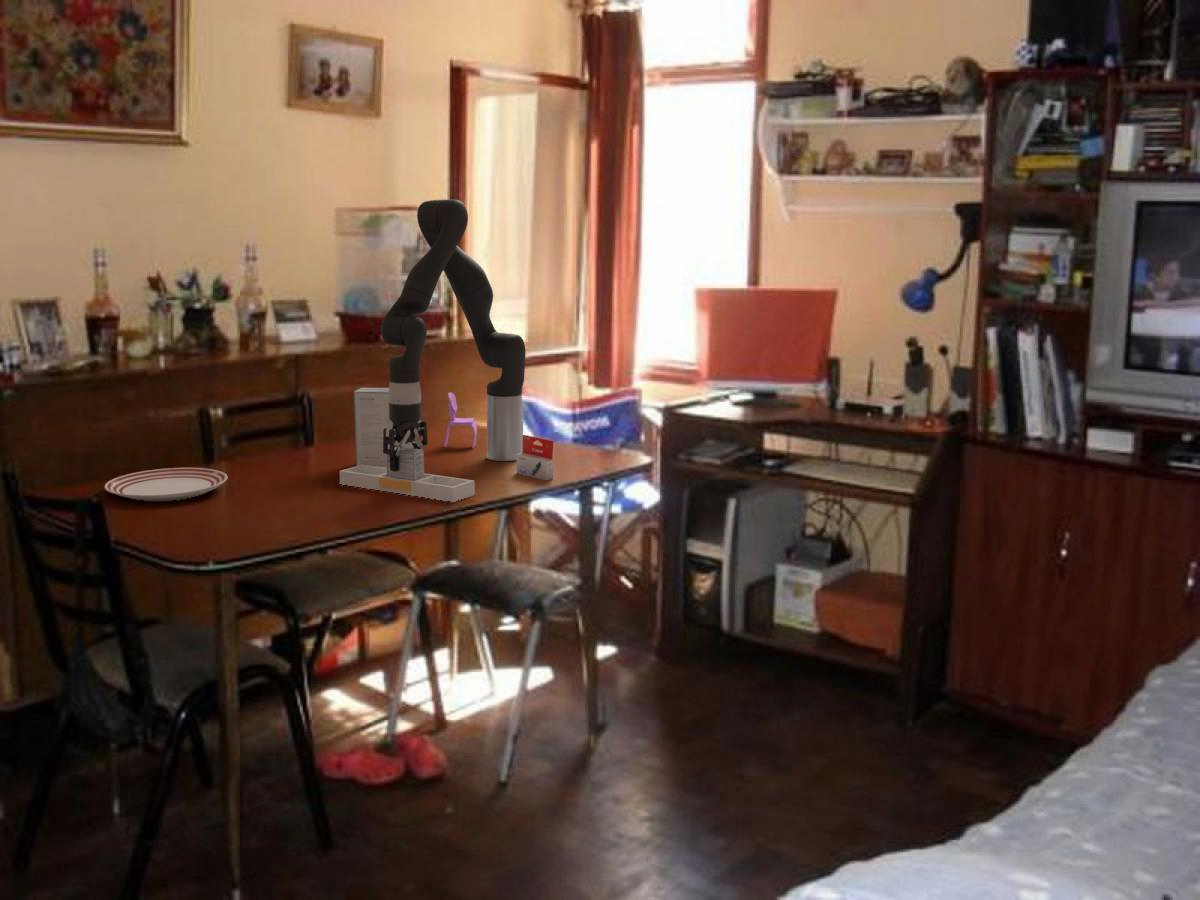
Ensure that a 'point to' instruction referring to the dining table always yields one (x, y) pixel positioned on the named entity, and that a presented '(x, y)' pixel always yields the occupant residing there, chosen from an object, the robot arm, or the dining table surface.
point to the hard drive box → (371, 425)
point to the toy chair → (458, 419)
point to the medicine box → (408, 465)
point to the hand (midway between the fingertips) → (406, 467)
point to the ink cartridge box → (536, 458)
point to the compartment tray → (408, 483)
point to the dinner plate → (166, 484)
